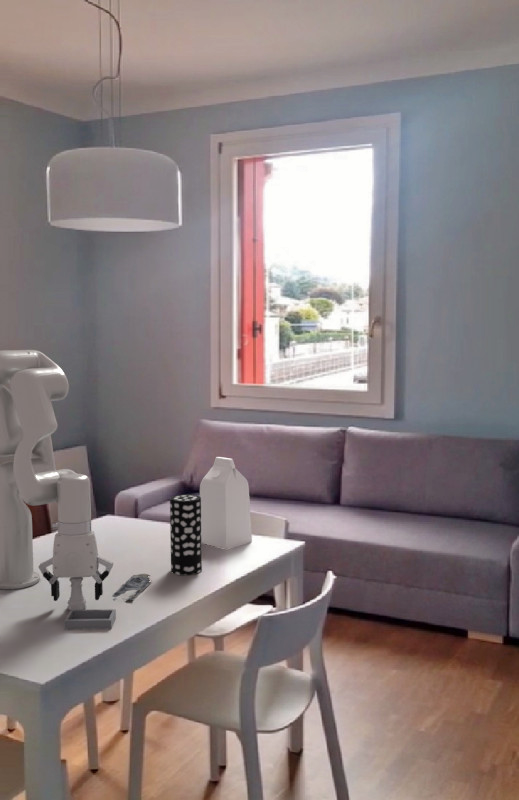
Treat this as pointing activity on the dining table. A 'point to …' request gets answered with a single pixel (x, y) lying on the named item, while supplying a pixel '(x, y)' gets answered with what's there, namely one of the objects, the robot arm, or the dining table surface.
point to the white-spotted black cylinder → (185, 534)
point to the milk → (225, 506)
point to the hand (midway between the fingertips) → (77, 598)
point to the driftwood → (133, 586)
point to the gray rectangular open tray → (90, 619)
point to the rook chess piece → (76, 595)
